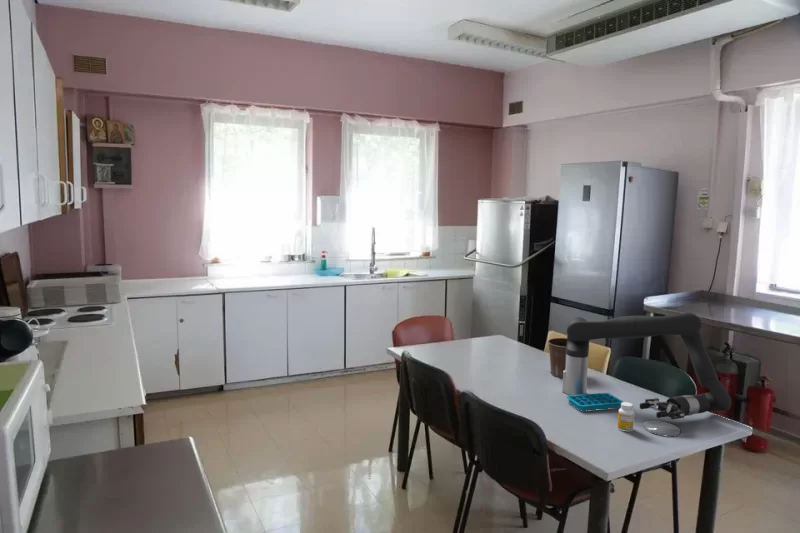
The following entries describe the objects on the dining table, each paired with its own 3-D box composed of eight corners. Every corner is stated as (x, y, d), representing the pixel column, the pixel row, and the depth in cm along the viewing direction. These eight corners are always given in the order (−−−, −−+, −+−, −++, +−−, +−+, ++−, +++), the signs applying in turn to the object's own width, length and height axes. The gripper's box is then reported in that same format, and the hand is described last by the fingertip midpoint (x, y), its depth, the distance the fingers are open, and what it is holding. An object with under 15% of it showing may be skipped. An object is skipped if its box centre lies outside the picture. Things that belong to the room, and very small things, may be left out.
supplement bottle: (620, 424, 205) (621, 400, 204) (635, 428, 202) (636, 403, 200) (615, 429, 201) (617, 404, 200) (630, 433, 198) (632, 408, 196)
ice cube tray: (624, 409, 221) (625, 402, 221) (580, 413, 216) (580, 406, 216) (607, 399, 232) (608, 392, 232) (564, 402, 228) (565, 395, 227)
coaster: (639, 429, 201) (639, 427, 201) (650, 420, 210) (650, 418, 210) (674, 439, 193) (674, 437, 193) (684, 429, 202) (684, 427, 202)
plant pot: (574, 382, 252) (575, 348, 250) (540, 375, 261) (542, 342, 259) (585, 373, 264) (587, 341, 262) (553, 367, 274) (555, 336, 272)
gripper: (669, 390, 215) (635, 394, 210) (699, 403, 201) (663, 408, 196) (667, 408, 216) (634, 412, 211) (697, 422, 202) (662, 427, 197)
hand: (648, 410), depth 204 cm, fingers open, 8 cm apart
